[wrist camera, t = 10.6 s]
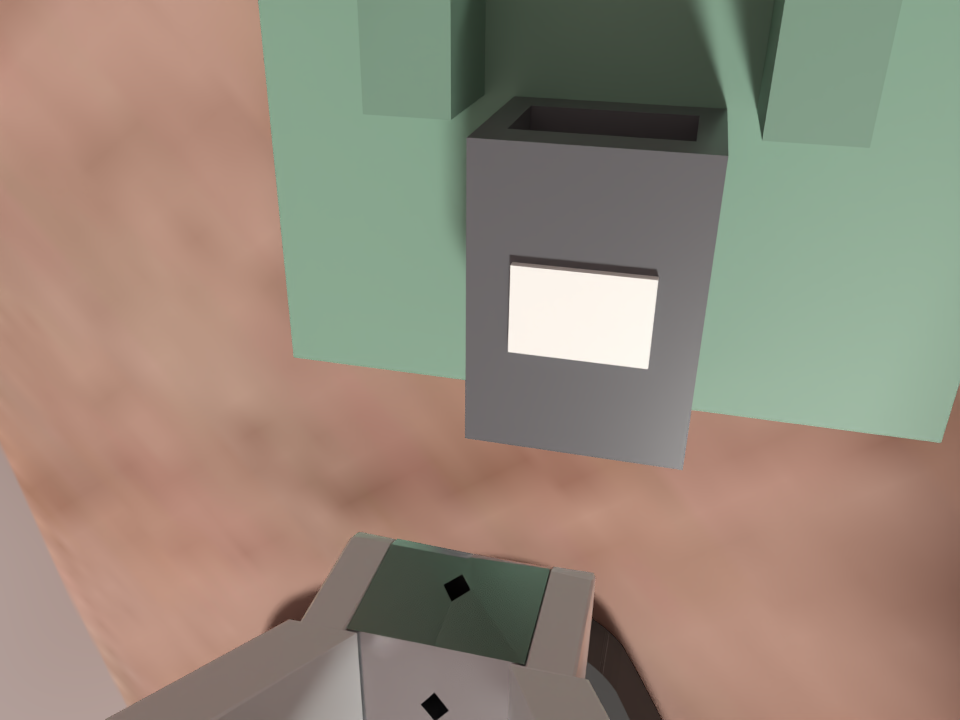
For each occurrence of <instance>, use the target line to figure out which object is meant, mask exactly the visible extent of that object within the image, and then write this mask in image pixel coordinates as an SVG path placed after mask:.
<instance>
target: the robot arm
mask: <svg viewBox="0 0 960 720" xmlns="http://www.w3.org/2000/svg"><path fill="white" fill-rule="evenodd" d="M594 591H595V575H594V573H591V572H584V571H578V570H571V569H565V568H558V567H547V566H541V565H535V564H530V563H524V562H518V561H512V560H506V559H500V558H494V557H488V556H482V555H476V554H474V555H473V554H471V553H466V552H461V551H456V550H451V549H446V548H441V547H436V546H431V545H426V544H421V543H416V542H411V541H406V540H401V539H397V540H395V539H392V538H387V537H382V536H377V535H372V534H367V533H362V532H358V533H357V534H356V535H354V536H353V537H352V538H350V540H349V541H348V543H347V545H346V546H345V548H344V550H343V551H342V553H341V555H340V556H339V558H338V560H337V561H336V563H335V565H334V566H333V568H332V570H331V571H330V573H329V575H328V576H327V578H326V580H325V581H324V583H323V584H322V586H321V588H320V589H319V591H318V593H317V594H316V596H315V598H314V599H313V601H312V603H311V604H310V606H309V608H308V609H307V611H306V613H305V614H304V616H303V618H302V619H301V621H296V620H291V619H289V620H287V621H285V622H283V623H281V624H279V625H278V626H276V627H274V628H272V629H270V630H268V631H267V632H265V633H263V634H261V635H259V636H257V637H255V638H254V639H252V640H250V641H248V642H246V643H244V644H243V645H241V646H239V647H237V648H235V649H233V650H232V651H230V652H228V653H226V654H224V655H222V656H221V657H219V658H217V659H215V660H213V661H211V662H210V663H208V664H206V665H204V666H202V667H200V668H199V669H197V670H195V671H193V672H191V673H189V674H188V675H186V676H184V677H182V678H180V679H178V680H177V681H175V682H173V683H171V684H169V685H167V686H166V687H164V688H162V689H160V690H158V691H156V692H155V693H153V694H151V695H149V696H147V697H145V698H144V699H142V700H140V701H138V702H136V703H134V704H133V705H131V706H129V707H127V708H125V709H124V710H122V711H120V712H118V713H116V714H114V715H113V716H111V717H109V718H107V719H106V720H610V719H609V717H608V715H607V713H606V711H605V710H604V708H603V706H602V704H601V702H600V700H599V698H598V697H597V695H596V693H595V691H594V689H593V687H592V685H591V684H590V682H589V680H587V679H585V674H586V666H587V658H588V650H589V640H590V630H591V621H592V611H593V601H594Z"/></svg>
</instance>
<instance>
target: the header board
mask: <svg viewBox="0 0 960 720" xmlns="http://www.w3.org/2000/svg"><path fill="white" fill-rule="evenodd" d="M258 4H259V14H260V24H261V34H262V44H263V54H264V64H265V74H266V84H267V94H268V104H269V114H270V124H271V134H272V144H273V154H274V164H275V174H276V184H277V194H278V204H279V214H280V224H281V234H282V244H283V254H284V264H285V274H286V284H287V294H288V304H289V314H290V324H291V334H292V344H293V354H294V357H295V358H303V359H311V360H318V361H326V362H333V363H341V364H348V365H356V366H363V367H371V368H379V369H386V370H394V371H401V372H409V373H416V374H424V375H432V376H439V377H447V378H454V379H462V380H465V369H466V141H467V137H468V136H469V135H470V134H471V133H472V132H474V131H475V130H476V129H477V128H478V127H479V126H480V125H482V124H483V123H484V122H485V121H486V120H487V119H489V118H490V117H491V116H492V115H493V114H494V113H496V112H497V111H498V110H499V109H500V108H501V107H502V106H504V105H505V104H506V103H507V102H508V101H509V100H511V99H512V98H513V97H514V96H519V97H536V98H553V99H570V100H587V101H604V102H621V103H638V104H655V105H672V106H688V107H705V108H722V109H727V114H728V155H729V156H728V163H727V170H726V177H725V184H724V190H723V197H722V204H721V211H720V218H719V225H718V231H717V238H716V245H715V252H714V259H713V266H712V273H711V279H710V286H709V293H708V300H707V307H706V314H705V320H704V327H703V334H702V341H701V348H700V355H699V361H698V368H697V375H696V382H695V389H694V396H693V403H692V409H691V410H696V411H704V412H711V413H719V414H726V415H734V416H742V417H749V418H757V419H764V420H772V421H779V422H787V423H795V424H802V425H810V426H817V427H825V428H832V429H840V430H847V431H855V432H863V433H870V434H878V435H885V436H893V437H900V438H908V439H915V440H923V441H931V442H938V443H941V441H942V438H943V435H944V432H945V428H946V425H947V422H948V419H949V416H950V412H951V409H952V406H953V403H954V399H955V396H956V393H957V390H958V386H959V383H960V0H258Z"/></svg>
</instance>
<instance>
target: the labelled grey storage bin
mask: <svg viewBox="0 0 960 720" xmlns="http://www.w3.org/2000/svg"><path fill="white" fill-rule="evenodd" d="M728 156H729V155H728V114H727V109H722V108H705V107H688V106H672V105H655V104H638V103H621V102H604V101H587V100H570V99H553V98H536V97H519V96H514V97H513V98H512V99H511V100H509V101H508V102H507V103H506V104H505V105H504V106H502V107H501V108H500V109H499V110H498V111H497V112H496V113H494V114H493V115H492V116H491V117H490V118H489V119H487V120H486V121H485V122H484V123H483V124H482V125H480V126H479V127H478V128H477V129H476V130H475V131H474V132H472V133H471V134H470V135H469V136H468V137H467V141H466V369H465V438H468V439H475V440H482V441H488V442H495V443H502V444H509V445H516V446H522V447H529V448H536V449H543V450H550V451H556V452H563V453H570V454H577V455H584V456H591V457H597V458H604V459H611V460H618V461H625V462H631V463H638V464H645V465H652V466H659V467H665V468H672V469H679V470H683V464H684V457H685V450H686V444H687V437H688V430H689V423H690V416H691V409H692V403H693V396H694V389H695V382H696V375H697V368H698V361H699V355H700V348H701V341H702V334H703V327H704V320H705V314H706V307H707V300H708V293H709V286H710V279H711V273H712V266H713V259H714V252H715V245H716V238H717V231H718V225H719V218H720V211H721V204H722V197H723V190H724V184H725V177H726V170H727V163H728Z"/></svg>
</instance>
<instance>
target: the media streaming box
mask: <svg viewBox="0 0 960 720" xmlns="http://www.w3.org/2000/svg"><path fill="white" fill-rule="evenodd" d="M585 679H587V680H589V682H590V684H591V685H592V687H593V689H594V691H595V693H596V695H597V697H598V698H599V700H600V702H601V704H602V706H603V708H604V710H605V711H606V713H607V715H608V717H609V719H610V720H661V718H660V716H659V714H658V712H657V710H656V708H655V706H654V704H653V702H652V700H651V698H650V696H649V694H648V692H647V690H646V688H645V687H644V685H643V683H642V681H641V679H640V677H639V675H638V673H637V672H636V670H635V668H634V666H633V664H632V662H631V661H630V659H629V657H628V655H627V653H626V652H625V650H624V648H623V646H622V645H621V644H620V643H619V642H618V640H617V639H616V638H615V637H614V636H613V635H612V634H611V633H610V632H609V631H607V630H606V629H605V628H604V627H603V626H601V625H600V624H599V623H597V622H596V621H594V620H593V619H592V621H591V630H590V640H589V650H588V658H587V666H586V674H585Z"/></svg>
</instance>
